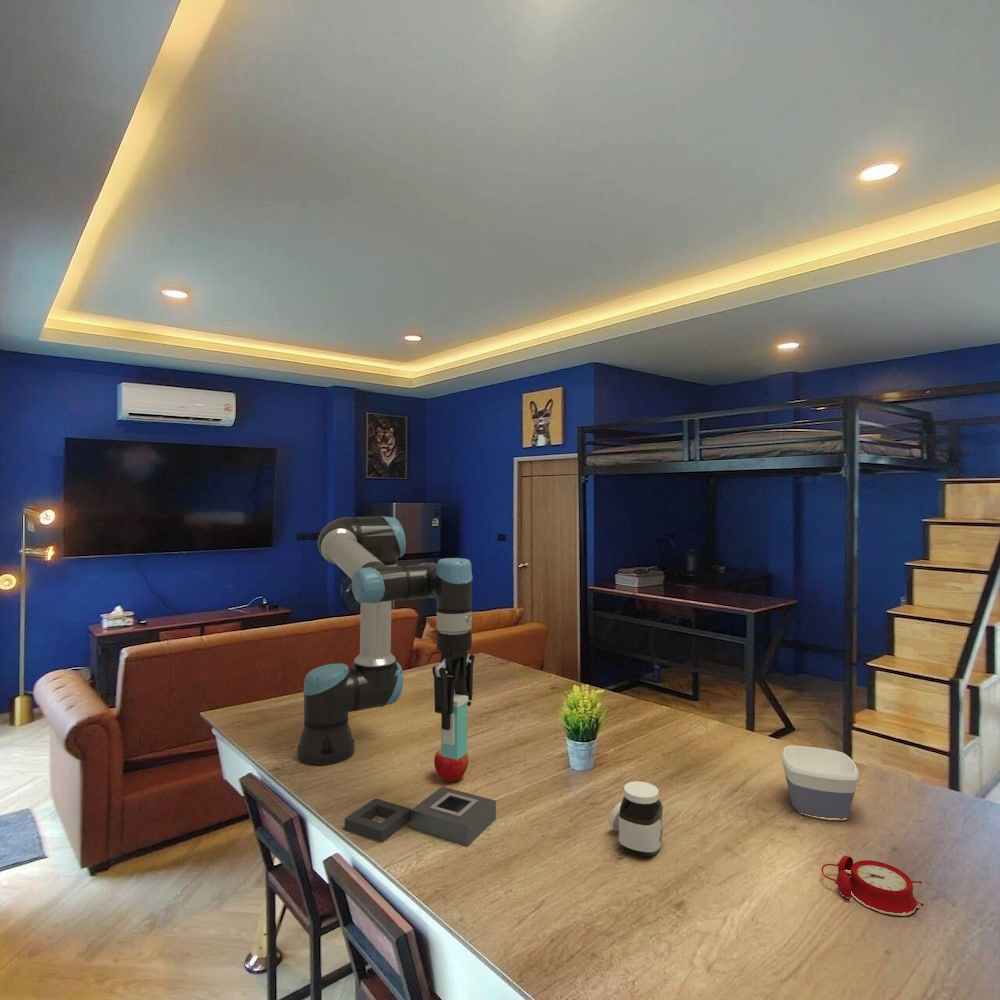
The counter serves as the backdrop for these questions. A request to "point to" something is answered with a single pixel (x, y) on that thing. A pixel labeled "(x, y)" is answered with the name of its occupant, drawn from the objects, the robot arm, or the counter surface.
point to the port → (453, 815)
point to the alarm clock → (876, 885)
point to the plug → (457, 729)
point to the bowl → (820, 781)
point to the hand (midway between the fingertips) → (454, 739)
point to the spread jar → (639, 819)
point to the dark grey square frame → (375, 830)
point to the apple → (450, 766)
